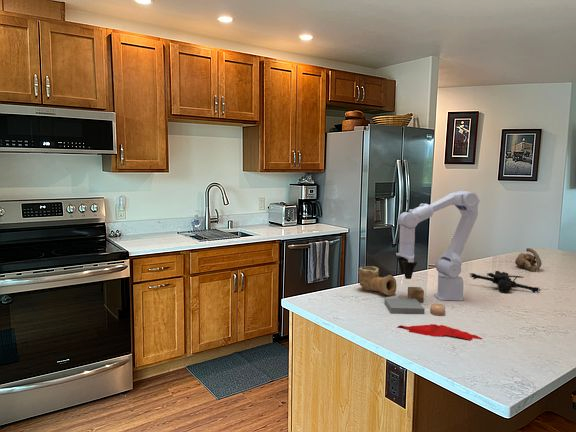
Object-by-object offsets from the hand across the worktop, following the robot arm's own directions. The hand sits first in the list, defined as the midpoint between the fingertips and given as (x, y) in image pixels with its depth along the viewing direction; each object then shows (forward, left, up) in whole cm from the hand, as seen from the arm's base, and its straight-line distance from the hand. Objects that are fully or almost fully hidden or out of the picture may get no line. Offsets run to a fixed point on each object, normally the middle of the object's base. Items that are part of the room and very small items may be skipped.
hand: (405, 276), depth 171 cm
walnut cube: (-4, +2, -10) cm, 10 cm away
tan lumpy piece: (-79, -59, -10) cm, 99 cm away
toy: (-50, -25, -10) cm, 57 cm away
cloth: (-3, +35, -10) cm, 36 cm away
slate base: (+3, +12, -9) cm, 15 cm away
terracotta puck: (-8, +17, -10) cm, 21 cm away
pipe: (+10, -9, -10) cm, 17 cm away
